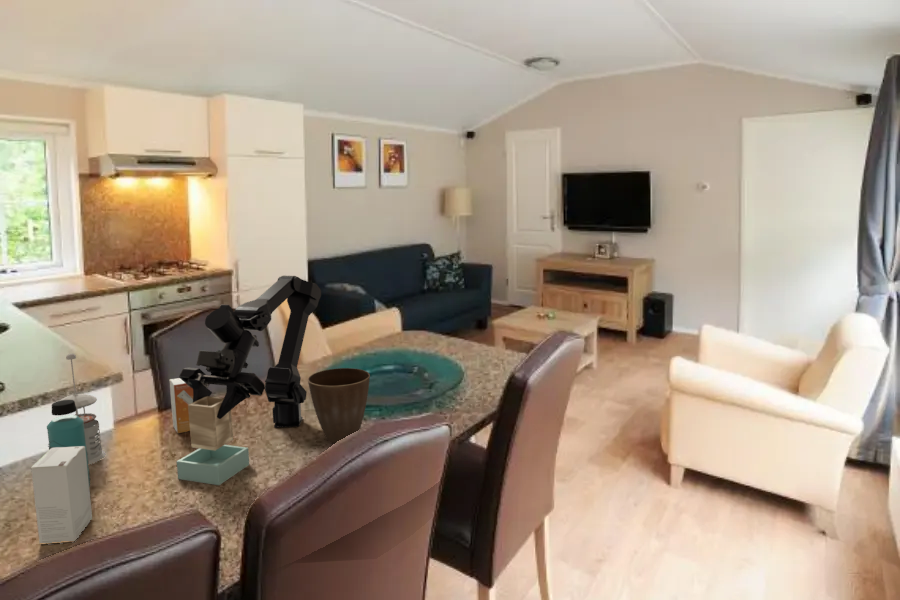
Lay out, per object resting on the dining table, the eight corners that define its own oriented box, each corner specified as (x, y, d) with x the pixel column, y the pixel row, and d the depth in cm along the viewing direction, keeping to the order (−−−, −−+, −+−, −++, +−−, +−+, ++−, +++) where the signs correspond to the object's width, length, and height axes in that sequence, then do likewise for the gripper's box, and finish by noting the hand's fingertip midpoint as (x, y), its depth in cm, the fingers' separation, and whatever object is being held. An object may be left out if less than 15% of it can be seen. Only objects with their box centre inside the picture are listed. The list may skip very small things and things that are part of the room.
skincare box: (59, 522, 113) (50, 446, 111) (95, 519, 114) (86, 443, 112) (38, 547, 105) (27, 466, 103) (76, 543, 106) (66, 463, 104)
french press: (55, 471, 135) (42, 361, 131) (60, 452, 145) (48, 349, 141) (106, 462, 139) (94, 355, 135) (107, 444, 149) (97, 344, 145)
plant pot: (344, 455, 141) (341, 389, 139) (297, 442, 149) (294, 379, 147) (383, 434, 154) (382, 373, 151) (339, 423, 162) (336, 365, 159)
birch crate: (210, 436, 136) (206, 396, 135) (233, 439, 135) (229, 398, 133) (191, 447, 131) (187, 404, 129) (215, 450, 129) (211, 407, 127)
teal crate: (210, 459, 140) (209, 442, 140) (249, 464, 137) (248, 447, 136) (178, 478, 130) (176, 461, 130) (219, 485, 127) (217, 467, 127)
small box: (177, 434, 155) (173, 384, 153) (172, 426, 161) (168, 378, 159) (210, 427, 160) (207, 379, 158) (205, 420, 165) (201, 373, 163)
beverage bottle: (65, 490, 126) (53, 396, 123) (98, 488, 126) (88, 395, 123) (47, 505, 120) (34, 407, 116) (82, 503, 120) (71, 406, 117)
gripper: (181, 332, 135) (147, 395, 127) (253, 337, 130) (223, 403, 121) (207, 357, 144) (178, 418, 136) (276, 363, 139) (250, 427, 130)
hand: (205, 416), depth 130 cm, fingers closed on birch crate, 6 cm apart
